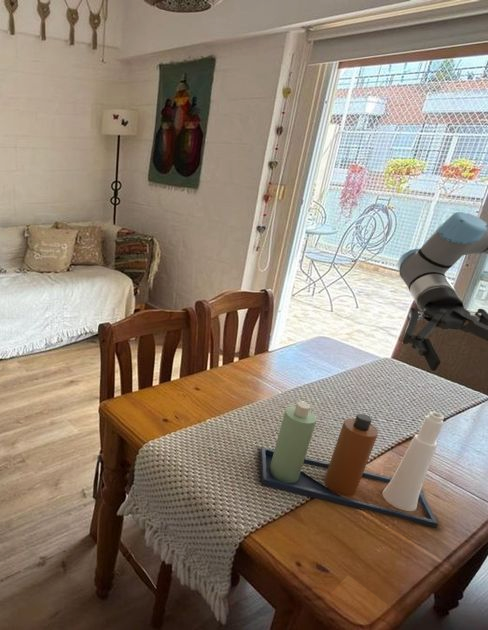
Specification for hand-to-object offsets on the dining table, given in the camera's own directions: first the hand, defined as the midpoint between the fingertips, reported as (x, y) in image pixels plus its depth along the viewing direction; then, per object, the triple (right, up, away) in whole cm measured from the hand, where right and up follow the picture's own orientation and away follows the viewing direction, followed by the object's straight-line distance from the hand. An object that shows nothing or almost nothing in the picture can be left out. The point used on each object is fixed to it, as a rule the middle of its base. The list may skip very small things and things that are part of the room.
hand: (477, 368), depth 86 cm
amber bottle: (-21, -27, +9) cm, 36 cm away
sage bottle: (-32, -25, +13) cm, 42 cm away
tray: (-22, -28, +9) cm, 36 cm away
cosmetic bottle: (-11, -29, +6) cm, 31 cm away
